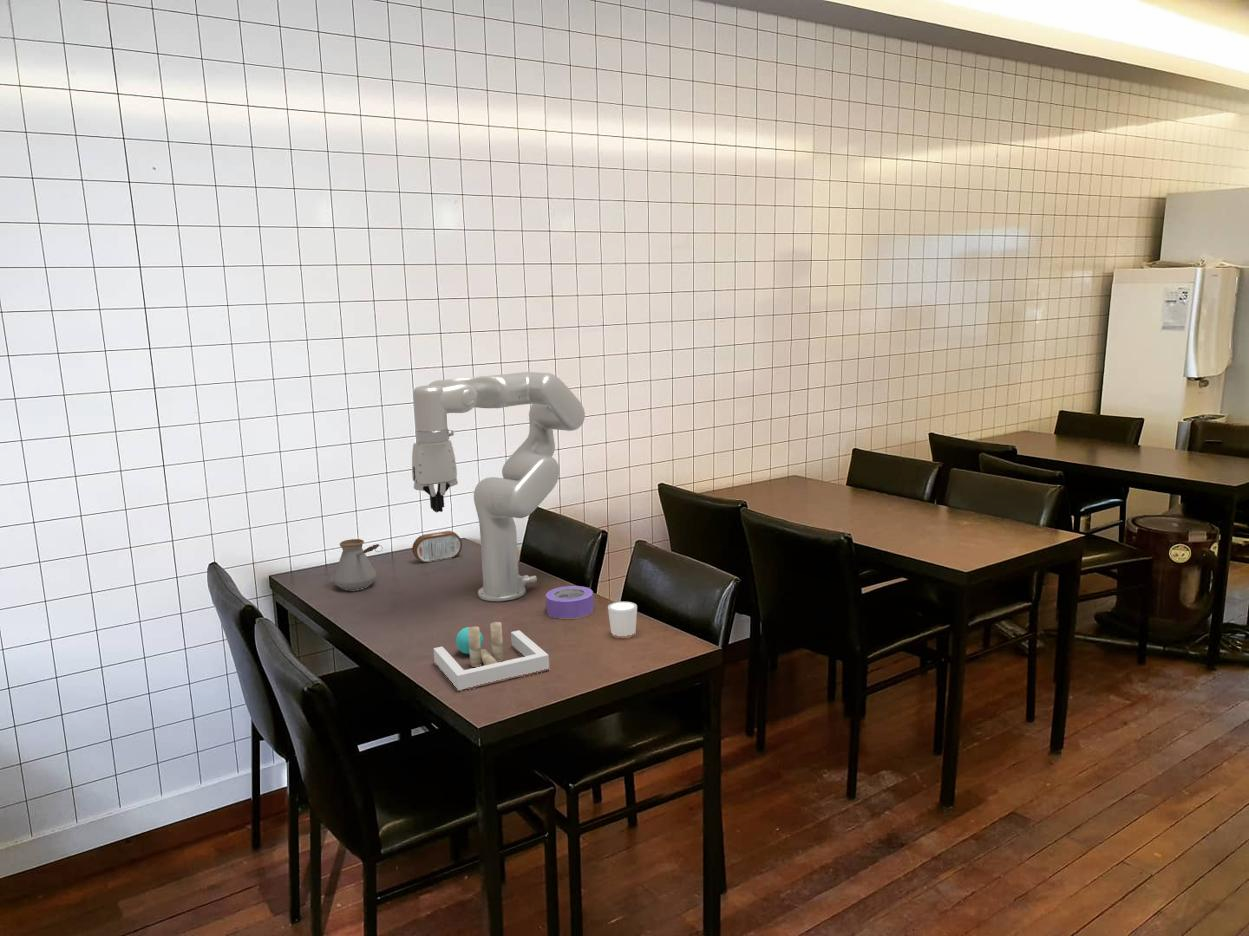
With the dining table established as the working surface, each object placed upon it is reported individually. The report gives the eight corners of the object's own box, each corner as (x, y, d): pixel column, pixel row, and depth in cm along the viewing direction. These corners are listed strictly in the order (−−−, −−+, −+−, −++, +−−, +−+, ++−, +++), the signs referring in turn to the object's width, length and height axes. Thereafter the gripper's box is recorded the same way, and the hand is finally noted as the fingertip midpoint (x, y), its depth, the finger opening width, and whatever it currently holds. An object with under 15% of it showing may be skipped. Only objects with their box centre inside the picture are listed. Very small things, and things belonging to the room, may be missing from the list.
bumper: (520, 644, 212) (519, 630, 212) (549, 670, 198) (548, 655, 197) (434, 663, 203) (433, 648, 203) (458, 691, 189) (457, 675, 188)
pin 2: (501, 657, 205) (499, 621, 204) (505, 661, 203) (503, 624, 202) (491, 659, 204) (488, 623, 203) (494, 663, 202) (492, 626, 201)
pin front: (486, 647, 205) (499, 660, 198) (488, 657, 206) (501, 671, 198) (476, 650, 204) (488, 664, 197) (478, 660, 205) (490, 674, 197)
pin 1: (479, 662, 203) (477, 625, 202) (483, 666, 201) (480, 629, 199) (469, 664, 202) (466, 627, 200) (472, 668, 200) (470, 631, 198)
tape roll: (544, 621, 228) (543, 601, 227) (548, 604, 239) (548, 586, 238) (592, 619, 227) (592, 600, 226) (594, 603, 239) (594, 585, 238)
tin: (460, 554, 286) (458, 528, 285) (464, 557, 284) (462, 530, 282) (412, 563, 279) (410, 536, 277) (416, 565, 276) (414, 538, 275)
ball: (483, 633, 205) (489, 651, 209) (473, 617, 209) (479, 634, 213) (458, 646, 203) (465, 663, 207) (449, 629, 207) (455, 646, 211)
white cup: (612, 641, 213) (611, 612, 211) (605, 631, 219) (604, 603, 218) (641, 637, 214) (640, 608, 213) (633, 627, 221) (632, 599, 220)
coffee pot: (327, 587, 259) (322, 535, 256) (365, 577, 266) (360, 526, 263) (363, 604, 243) (358, 549, 240) (402, 593, 251) (398, 540, 248)
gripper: (457, 431, 231) (462, 503, 234) (397, 438, 224) (403, 512, 227) (467, 435, 224) (472, 509, 228) (405, 442, 217) (411, 518, 221)
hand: (437, 510), depth 227 cm, fingers closed
